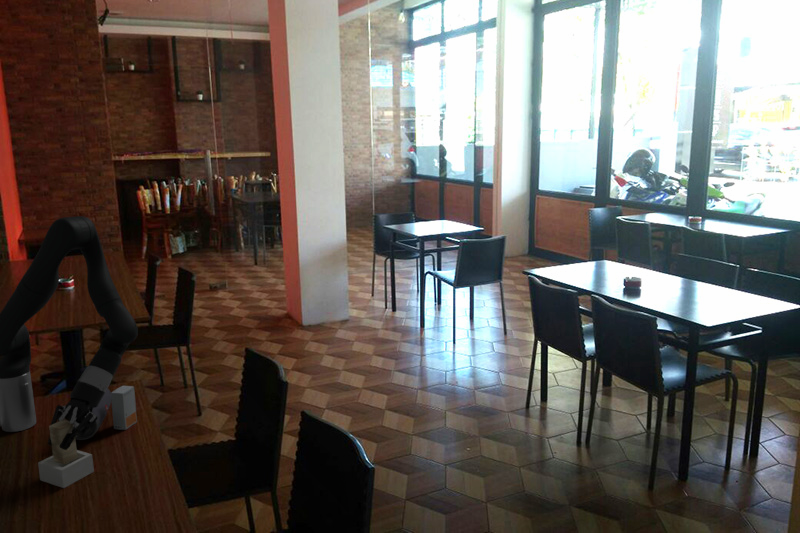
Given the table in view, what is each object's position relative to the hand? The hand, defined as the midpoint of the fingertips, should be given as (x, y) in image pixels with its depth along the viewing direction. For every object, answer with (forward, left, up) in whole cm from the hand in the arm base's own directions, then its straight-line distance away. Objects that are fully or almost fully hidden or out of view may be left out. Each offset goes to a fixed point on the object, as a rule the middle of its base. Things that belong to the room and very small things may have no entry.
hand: (57, 446), depth 163 cm
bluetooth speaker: (-19, +25, -10) cm, 33 cm away
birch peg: (0, +2, -5) cm, 5 cm away
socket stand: (0, +2, -9) cm, 9 cm away
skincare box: (-10, +30, -10) cm, 33 cm away
